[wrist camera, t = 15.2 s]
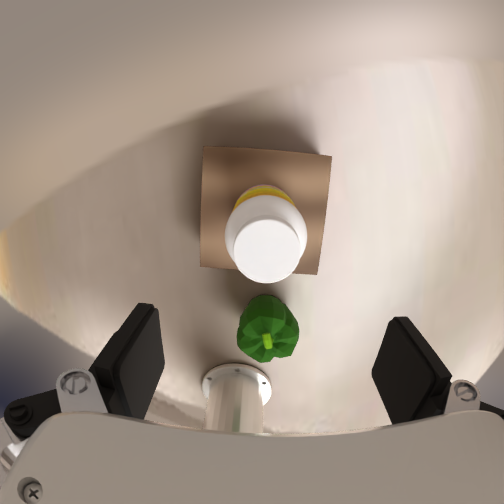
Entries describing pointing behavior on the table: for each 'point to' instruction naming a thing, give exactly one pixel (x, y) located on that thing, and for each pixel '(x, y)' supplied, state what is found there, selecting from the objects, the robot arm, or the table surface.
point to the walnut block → (261, 173)
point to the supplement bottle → (265, 234)
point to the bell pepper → (267, 329)
